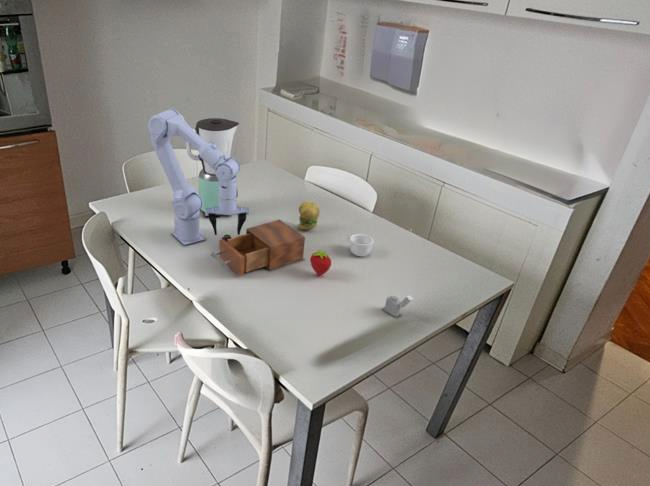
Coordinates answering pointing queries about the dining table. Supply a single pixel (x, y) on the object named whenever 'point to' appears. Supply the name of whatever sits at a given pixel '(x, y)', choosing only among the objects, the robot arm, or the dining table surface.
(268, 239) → the cabinet
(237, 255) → the drawer
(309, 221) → the hamburger
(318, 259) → the strawberry
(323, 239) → the dining table surface
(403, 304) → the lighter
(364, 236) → the teacup
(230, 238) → the mangosteen
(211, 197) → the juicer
